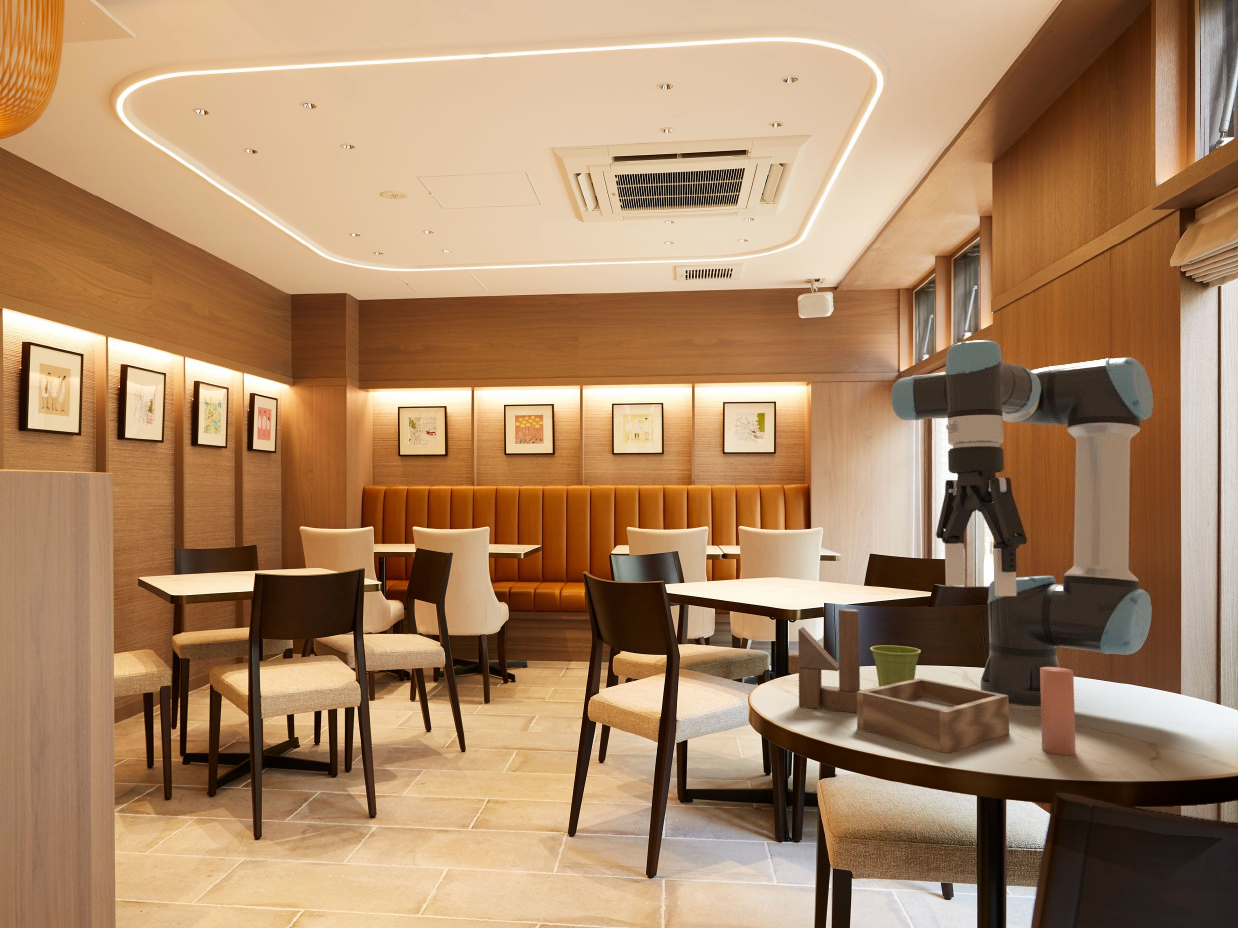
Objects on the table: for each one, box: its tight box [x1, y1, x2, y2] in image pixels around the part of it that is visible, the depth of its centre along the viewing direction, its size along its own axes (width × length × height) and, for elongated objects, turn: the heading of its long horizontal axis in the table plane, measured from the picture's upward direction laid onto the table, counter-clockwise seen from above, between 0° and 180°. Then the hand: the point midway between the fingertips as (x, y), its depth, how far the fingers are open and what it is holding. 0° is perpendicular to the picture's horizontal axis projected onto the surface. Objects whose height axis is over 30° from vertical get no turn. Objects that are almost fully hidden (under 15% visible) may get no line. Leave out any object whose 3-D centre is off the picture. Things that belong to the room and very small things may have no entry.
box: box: [856, 677, 1010, 754], centre depth 128 cm, size 18×16×6 cm
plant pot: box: [869, 645, 922, 687], centre depth 154 cm, size 9×9×9 cm
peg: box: [1040, 667, 1077, 756], centre depth 118 cm, size 4×4×12 cm
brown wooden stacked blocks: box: [797, 608, 863, 714], centre depth 143 cm, size 4×11×18 cm, turn 66°
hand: (979, 590), depth 115 cm, fingers open, 13 cm apart
